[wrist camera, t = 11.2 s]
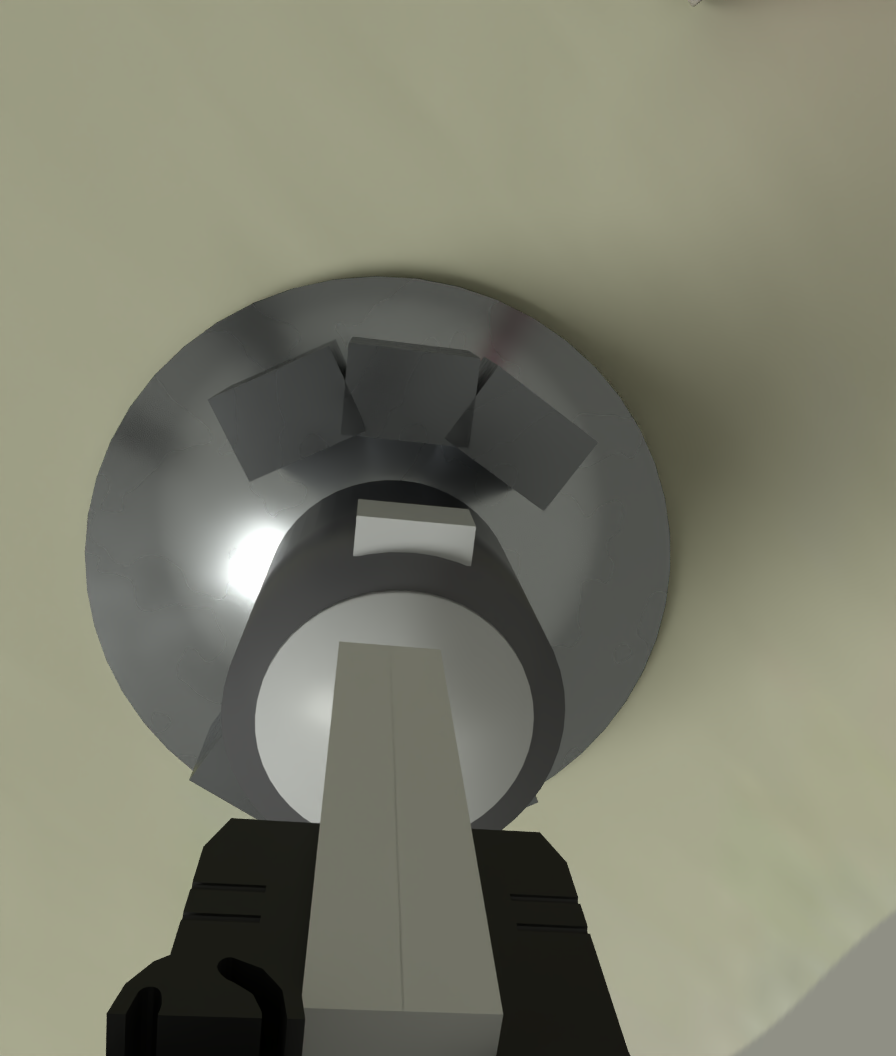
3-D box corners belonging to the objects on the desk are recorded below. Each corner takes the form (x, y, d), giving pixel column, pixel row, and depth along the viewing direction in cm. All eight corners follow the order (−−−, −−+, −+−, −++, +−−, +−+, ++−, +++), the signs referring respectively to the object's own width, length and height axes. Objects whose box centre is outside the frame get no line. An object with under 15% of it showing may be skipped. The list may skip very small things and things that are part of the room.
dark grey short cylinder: (274, 444, 19) (229, 510, 13) (531, 469, 20) (598, 543, 14) (256, 725, 21) (209, 893, 15) (493, 740, 22) (537, 907, 16)
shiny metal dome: (96, 237, 18) (43, 228, 16) (714, 316, 20) (770, 321, 17) (88, 804, 22) (44, 880, 19) (612, 835, 24) (645, 911, 21)
